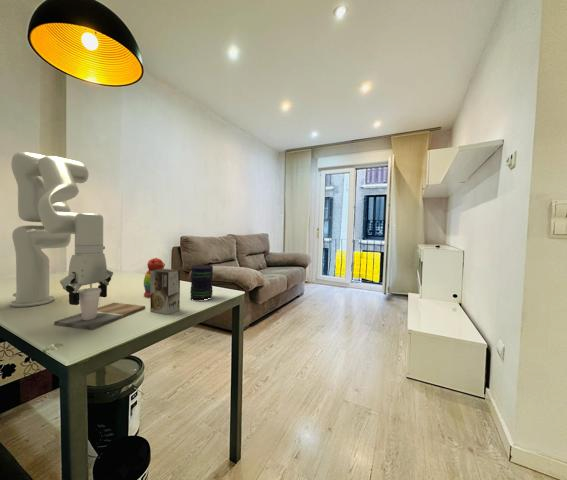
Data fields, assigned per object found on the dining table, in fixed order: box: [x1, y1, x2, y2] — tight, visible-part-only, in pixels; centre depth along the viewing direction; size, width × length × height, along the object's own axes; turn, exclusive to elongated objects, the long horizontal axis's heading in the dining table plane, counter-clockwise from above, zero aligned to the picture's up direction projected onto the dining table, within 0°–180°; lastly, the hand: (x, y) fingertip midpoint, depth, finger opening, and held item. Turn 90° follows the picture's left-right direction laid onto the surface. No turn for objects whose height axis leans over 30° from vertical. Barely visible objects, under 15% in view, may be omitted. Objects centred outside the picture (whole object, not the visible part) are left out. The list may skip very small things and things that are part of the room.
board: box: [53, 302, 146, 330], centre depth 89 cm, size 15×22×1 cm
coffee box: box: [149, 268, 181, 315], centre depth 96 cm, size 9×6×16 cm
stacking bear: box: [143, 257, 166, 299], centre depth 118 cm, size 11×10×18 cm
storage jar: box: [189, 264, 214, 300], centre depth 115 cm, size 10×10×15 cm
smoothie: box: [77, 284, 101, 320], centre depth 84 cm, size 6×6×14 cm
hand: (89, 300), depth 83 cm, fingers open, 9 cm apart
